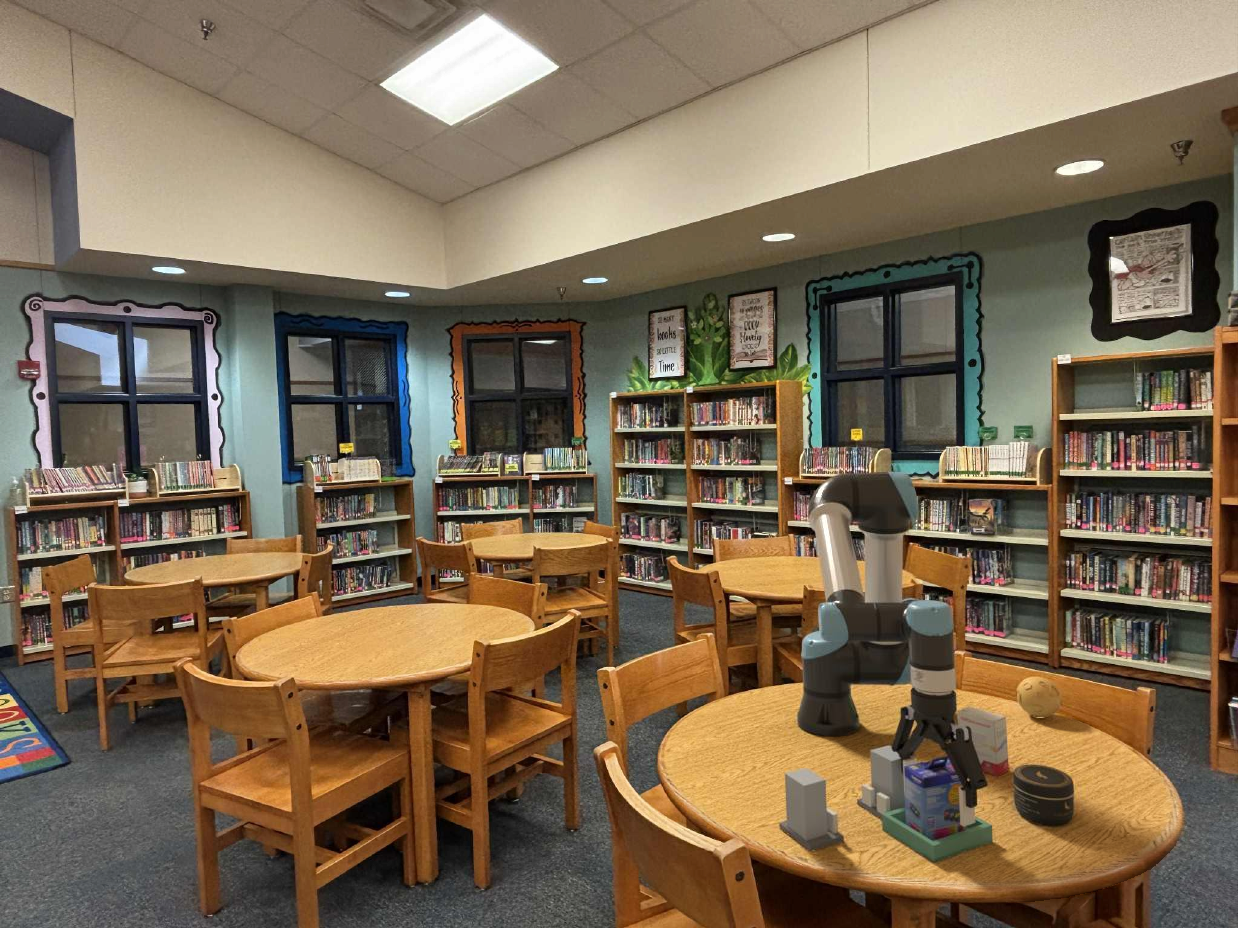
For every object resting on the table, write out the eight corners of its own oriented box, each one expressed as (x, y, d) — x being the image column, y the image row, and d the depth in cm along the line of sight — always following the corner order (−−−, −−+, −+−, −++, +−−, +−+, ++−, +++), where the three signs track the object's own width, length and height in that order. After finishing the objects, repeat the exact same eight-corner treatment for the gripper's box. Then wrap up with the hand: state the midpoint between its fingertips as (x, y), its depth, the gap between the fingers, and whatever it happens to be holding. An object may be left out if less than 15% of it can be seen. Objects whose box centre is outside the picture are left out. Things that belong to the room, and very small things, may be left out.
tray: (882, 829, 135) (881, 813, 135) (938, 811, 141) (937, 796, 141) (934, 862, 124) (933, 845, 124) (992, 841, 130) (992, 824, 130)
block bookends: (779, 827, 137) (777, 770, 137) (886, 795, 148) (884, 741, 147) (810, 851, 129) (807, 790, 129) (921, 815, 140) (919, 758, 139)
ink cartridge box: (924, 846, 128) (922, 764, 128) (903, 830, 133) (900, 752, 133) (970, 834, 131) (967, 754, 131) (947, 819, 136) (945, 743, 136)
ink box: (1010, 770, 156) (1008, 716, 156) (997, 777, 153) (995, 722, 153) (971, 757, 163) (969, 704, 163) (958, 763, 160) (956, 710, 160)
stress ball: (1026, 711, 190) (1000, 690, 188) (1052, 683, 189) (1026, 661, 187) (1051, 732, 180) (1023, 710, 179) (1078, 703, 179) (1051, 680, 178)
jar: (1050, 834, 131) (1049, 792, 131) (1001, 809, 140) (1000, 770, 140) (1087, 820, 135) (1086, 779, 135) (1037, 797, 144) (1036, 759, 144)
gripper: (868, 674, 141) (873, 785, 141) (975, 713, 119) (980, 844, 119) (898, 668, 144) (903, 777, 144) (1007, 704, 122) (1013, 833, 122)
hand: (938, 808), depth 132 cm, fingers open, 12 cm apart
